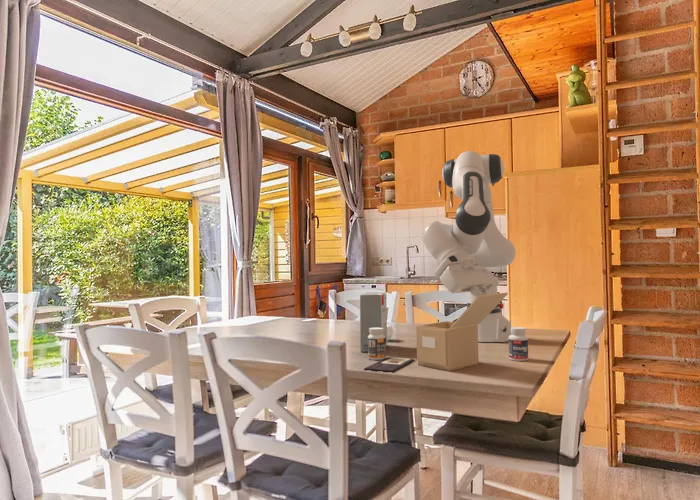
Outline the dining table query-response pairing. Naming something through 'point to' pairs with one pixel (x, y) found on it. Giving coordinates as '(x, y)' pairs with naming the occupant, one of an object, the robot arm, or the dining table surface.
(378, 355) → the pill bottle
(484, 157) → the robot arm
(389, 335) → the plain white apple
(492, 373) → the dining table surface
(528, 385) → the dining table surface
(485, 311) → the flap
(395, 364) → the chocolate bar
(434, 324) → the carton
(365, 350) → the hard drive box
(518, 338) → the pill bottle
